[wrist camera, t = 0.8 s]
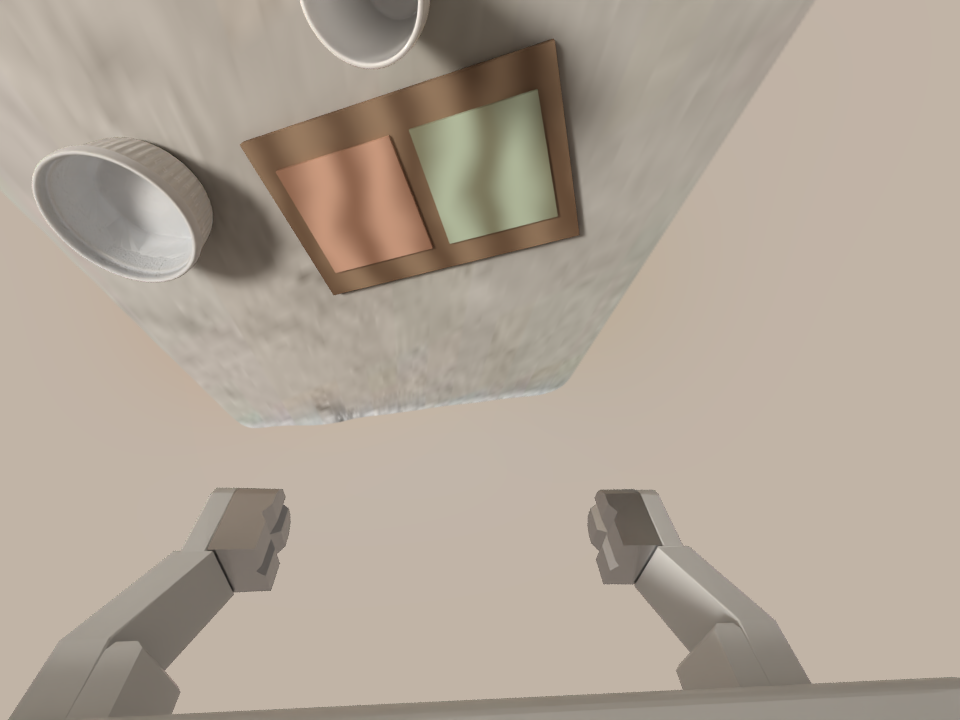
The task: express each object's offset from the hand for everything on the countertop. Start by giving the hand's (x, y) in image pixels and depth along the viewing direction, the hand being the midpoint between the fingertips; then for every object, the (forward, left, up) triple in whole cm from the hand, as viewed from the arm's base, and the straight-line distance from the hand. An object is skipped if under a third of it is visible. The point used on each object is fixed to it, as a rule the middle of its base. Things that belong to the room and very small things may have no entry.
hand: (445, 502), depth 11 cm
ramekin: (+34, -1, -39) cm, 52 cm away
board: (+7, +6, -39) cm, 40 cm away
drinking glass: (+3, -10, -39) cm, 41 cm away
